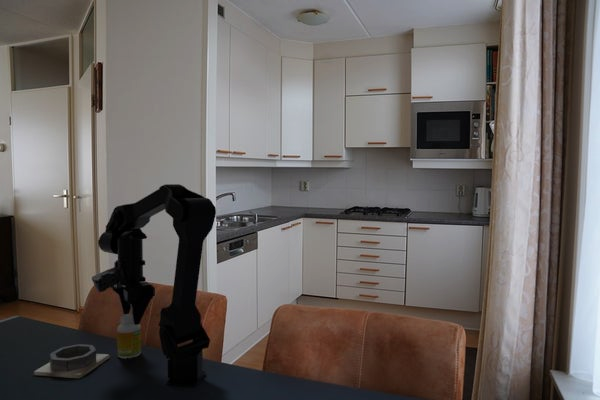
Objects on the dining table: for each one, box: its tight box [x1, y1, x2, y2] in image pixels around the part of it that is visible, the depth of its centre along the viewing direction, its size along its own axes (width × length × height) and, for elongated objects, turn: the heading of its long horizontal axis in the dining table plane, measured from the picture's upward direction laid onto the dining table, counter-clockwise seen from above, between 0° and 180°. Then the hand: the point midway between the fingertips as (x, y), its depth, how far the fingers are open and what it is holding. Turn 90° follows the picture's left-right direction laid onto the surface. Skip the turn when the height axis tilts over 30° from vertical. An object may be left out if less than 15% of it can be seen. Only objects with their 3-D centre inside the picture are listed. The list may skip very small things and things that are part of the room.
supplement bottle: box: [116, 313, 142, 360], centre depth 105 cm, size 5×5×10 cm
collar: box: [33, 343, 110, 379], centre depth 99 cm, size 11×11×3 cm
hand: (131, 319), depth 105 cm, fingers open, 9 cm apart
